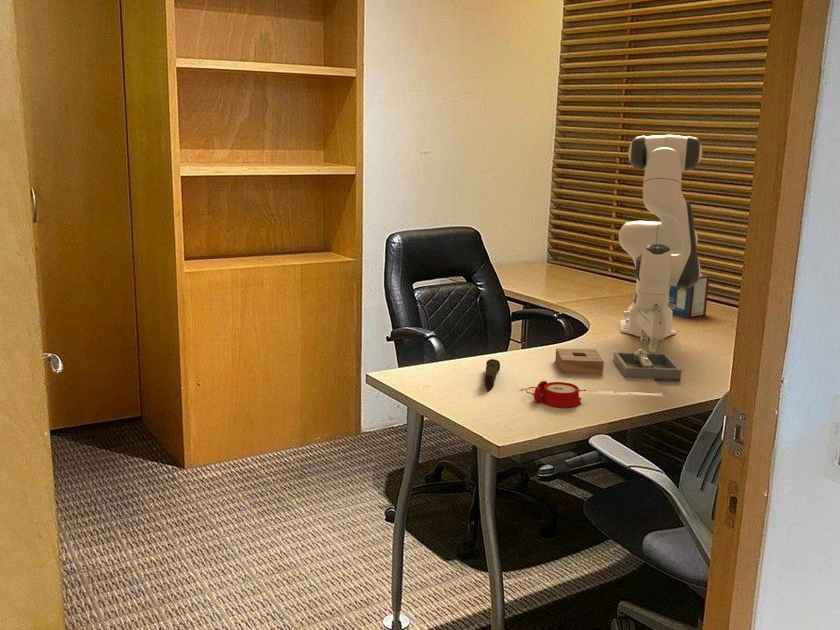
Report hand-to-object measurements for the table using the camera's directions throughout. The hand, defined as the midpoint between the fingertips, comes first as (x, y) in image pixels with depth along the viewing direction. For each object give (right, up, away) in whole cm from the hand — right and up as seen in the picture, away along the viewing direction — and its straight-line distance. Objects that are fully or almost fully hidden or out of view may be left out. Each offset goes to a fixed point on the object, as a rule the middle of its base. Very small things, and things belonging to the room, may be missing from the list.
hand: (648, 346), depth 243 cm
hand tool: (-47, -10, -10) cm, 49 cm away
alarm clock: (-32, -14, -24) cm, 42 cm away
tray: (0, -8, +2) cm, 8 cm away
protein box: (+34, +10, +76) cm, 84 cm away
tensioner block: (-20, -7, +2) cm, 22 cm away
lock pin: (0, -6, -1) cm, 6 cm away
